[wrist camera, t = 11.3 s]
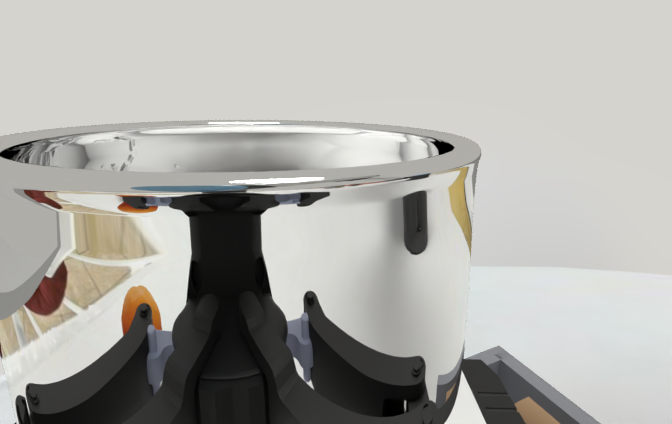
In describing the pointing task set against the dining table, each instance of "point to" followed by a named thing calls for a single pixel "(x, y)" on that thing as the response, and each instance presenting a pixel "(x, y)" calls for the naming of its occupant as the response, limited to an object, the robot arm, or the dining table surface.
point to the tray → (532, 387)
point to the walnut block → (534, 412)
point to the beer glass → (235, 272)
